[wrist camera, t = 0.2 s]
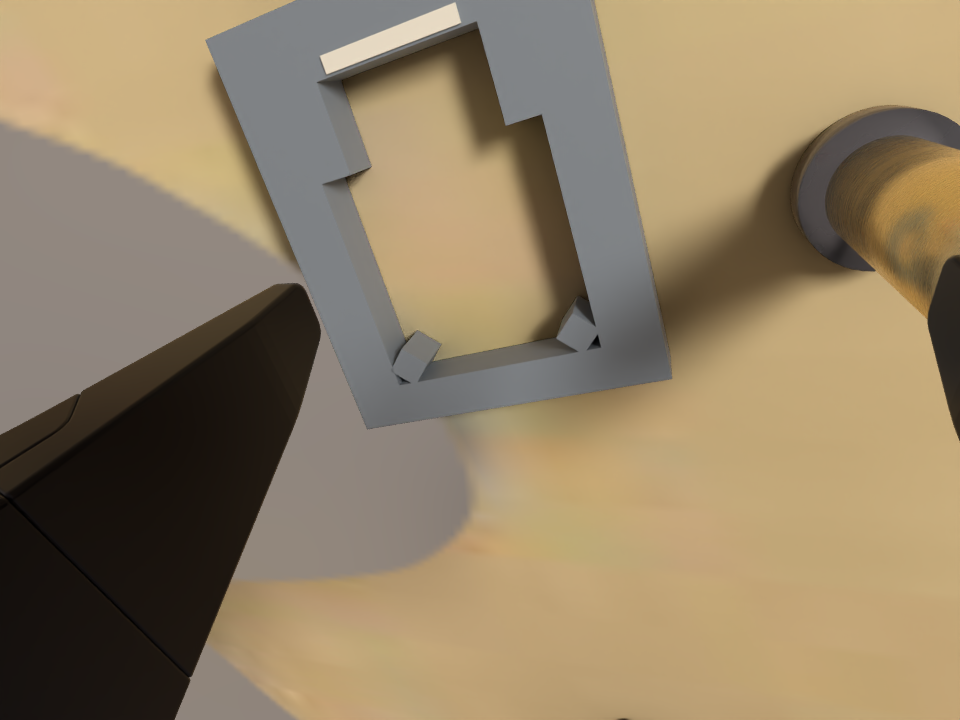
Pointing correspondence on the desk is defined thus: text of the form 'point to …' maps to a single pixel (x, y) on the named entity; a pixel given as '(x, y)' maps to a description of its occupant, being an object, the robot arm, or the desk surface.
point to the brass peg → (884, 196)
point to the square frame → (340, 152)
